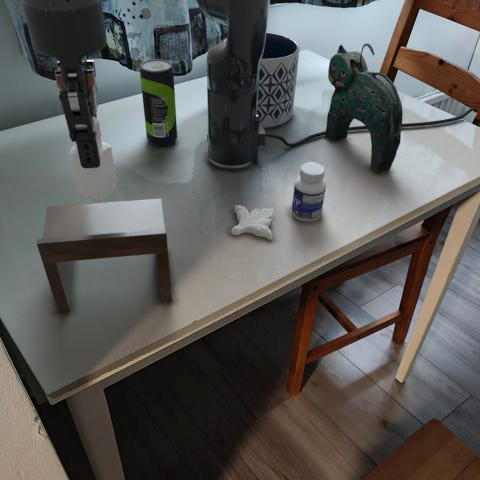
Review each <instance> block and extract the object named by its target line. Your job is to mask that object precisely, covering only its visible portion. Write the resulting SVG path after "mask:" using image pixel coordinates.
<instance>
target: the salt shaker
mask: <svg viewBox="0 0 480 480" xmlns="http://www.w3.org/2000/svg"><path fill="white" fill-rule="evenodd" d="M94 124H95V130H97V135H96V140H97V146H98V151H99V157H100V166H99V167H98V168H83V167H82V166H81V163H80V159H79V154H78V149H77V144H76V142H74V143H75V144H74V145H73V146H72V147H71V149H69V152H68V158H69V161H70V167H71V171H72V175H73V180H74V184H75V189H76V193H77V194H78V195H77V196H79V197H82V198H85V199H86V198H87V199H91V200H94V201H98V202H104V201H106V200H107V199H108V198H109V197H110V196H111V195H112V194H113V193H114V192H115V190H116V189H117V187H118V181H117V174H116V168H115V163H114V156H113V150H112V146H111V145H110V144H109V143H107V142H106V141H103V140H102V132H101V125H100V121H99V119H98V117H97V118H96V117H94ZM78 127H87V125H85V124H80V125H77V128H78Z"/></svg>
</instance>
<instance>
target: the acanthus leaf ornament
mask: <svg viewBox="0 0 480 480" xmlns="http://www.w3.org/2000/svg"><path fill="white" fill-rule="evenodd" d="M248 210H249V209H247V207H245V206H244V205H240V204H239V205H238V204H235V206H234V213H235V214H236V219H237V221H238V222H239V223H238V224H237V225H235V226H233V227H232V229H231V234H232V235H233V236H240V235H241V234H245V233H246V234H247V233H249V234H252V235H254V236H256V237H262V238H266V239H268V240H270V241H272V240H273V234H272V230H271V229H270V226H271V224H272V219H273V218H274V216H275V215H274V213H275V209H274V208H272V207H269V208H267V207H264V208H262V209H261V210H260V209H259V208H254V209H252V210H251V211H250V213H249V211H248Z"/></svg>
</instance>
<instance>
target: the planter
mask: <svg viewBox="0 0 480 480" xmlns="http://www.w3.org/2000/svg"><path fill="white" fill-rule="evenodd" d="M226 42H227V37H226V38H225V39H224V40H223V42H222V43H226ZM299 58H300V45H299V43H298V42H297V41H296V40H295V39H293V38H291V37H289V36H287V35H284V34H280V33H277V32H276V33H275V32H269V31H267V32H266V42H265V48H264V52H263V55H262V58H261V61H260V71H259V89H258V108H257V112H258V115H259V117H260V123H262V126H263V128H264V129H267V128H274V127H277V126H280V125H283V124H285V123H286V122H288V121H289V120H290V119H291V118H292V116H293V113H294V105H295V96H296V87H297V78H298V77H297V76H298V68H299Z"/></svg>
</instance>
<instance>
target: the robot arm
mask: <svg viewBox="0 0 480 480" xmlns="http://www.w3.org/2000/svg"><path fill="white" fill-rule="evenodd" d="M195 2H196V4H197V6H198V9H199V10H200V12H201V13H202V15H203V16H204V17H205V18H207V19H208V20H210V21H212V22H215V23H217V24H220V25H223V26H226V27H227V34H226V38H227V42H226V43H223V42H222V43H221V42H220V43H218V44H215V45H214V46H212V47H210V48H209V50H208V51H207V54H206V90H207V91H206V93H207V95H206V96H207V97H206V98H207V99H206V101H207V134H206V141H207V142H206V143H207V161H208V162H209V164H211V165H212V166H214V167H216V168H218V169H221V170H224V171H225V170H226V171H239V170H240V171H241V170H245V169H247V168H250V167H251V166H254V165H255V166H256V165H258V155H259V147H266V140H267V138H271V139H275V140H279V141H281V142H282V143H283V144H284V145H285V146H286V147H288V148H296V147H298V146H301V145H302V144H304V143H307V142H308V141H310V140H313V139H315V138H319V137H322V136H326V130H324V131H320V132H316V133H313V134H310V135H308V136H306V137H305V138H303V139H301V140H299V141H296V142H294V143H291V142H288V141H287V140H286V138H284V137H283V136H281V135H278V134H273V133H268V132H266V130H265V128H263V126H262V123H260V117H259V115H258V112H257V108H258V89H259V71H260V61H261V58H262V55H263V52H264V48H265V42H266V32H268V21H269V13H270V5H271V4H270V3H271V0H195ZM21 5H22V8H23V13H24V17H25V20H26V24H27V25H26V26H27V28H28V33H29V37H30V42H31V45H32V47H33V49H34V50H35V51H36V52H38V53H39V54H41V55H43V56H45V57H51V58H54V59H56V60H57V61H56V70H54V76H55V82H56V87H57V88H58V89H59V94H58V98H59V101H60V103H61V106H62V110H63V113H64V119H65V122H66V125H67V129H68V133H69V134H68V136H69V139H70V141H71V142H72V143H75V142H76V143H75V144H77V149H78V154H79V159H80V163H81V166H82V167H83V168H98V167H99V166H100V157H99V151H98V146H97V140H96V135H97V130H95V124H94V117H96V118H97V119H98V116H97V113H98V109H99V107H98V103H97V98H98V86H97V80H96V77H97V71H96V63H95V60H94V59H91V55H94V54H97V53H98V52H101V51H102V50H103V49H104V48H105V47H106V45H107V43H108V42H107V41H108V37H107V31H106V24H105V17H104V9H103V3H102V0H21ZM471 112H473V113H475V114H477V113H478V112H479V111H478V109H477V108H476V107H470V108H468V110H466V111H465V112H463V113H462V114H461V115H458V116H454V117H451V118H445V119H439V120H432V121H431V120H430V121H423V122H409V123H402V128H410V127H411V128H412V127H424V126H425V127H426V126H434V125H441V124H447V123H452V122H456V121H460V120H462V119H464V118H465V117H466V116H468V115H469V114H470V113H471ZM80 124H85V125H87V127H78V128H77V125H80ZM360 130H368V129H367V127H366V126H365V125H356V126H349V129H348V132H351V131H360Z"/></svg>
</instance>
